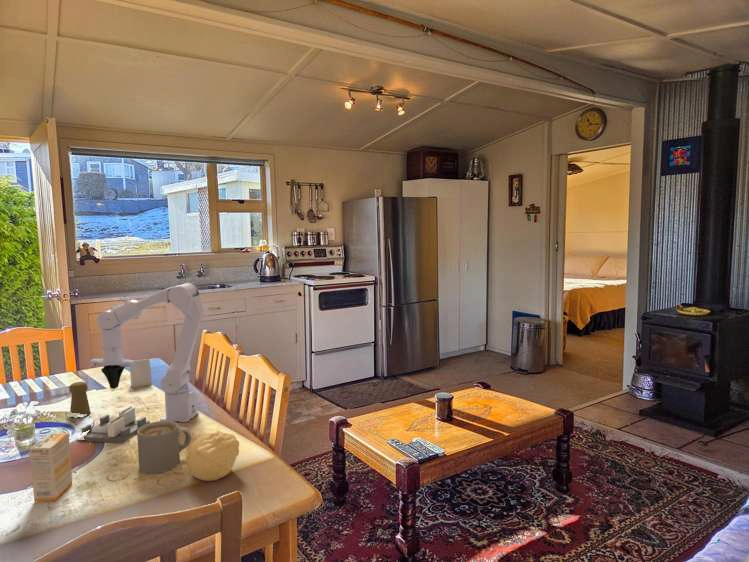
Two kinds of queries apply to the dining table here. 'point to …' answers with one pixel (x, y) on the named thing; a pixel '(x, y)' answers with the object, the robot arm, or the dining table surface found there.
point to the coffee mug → (160, 446)
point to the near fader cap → (115, 426)
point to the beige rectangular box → (141, 373)
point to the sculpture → (212, 455)
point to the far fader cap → (128, 415)
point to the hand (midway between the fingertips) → (114, 387)
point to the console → (101, 431)
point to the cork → (79, 398)
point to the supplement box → (51, 466)
